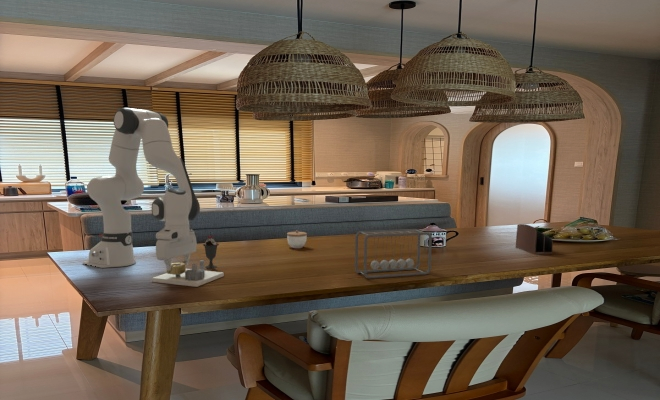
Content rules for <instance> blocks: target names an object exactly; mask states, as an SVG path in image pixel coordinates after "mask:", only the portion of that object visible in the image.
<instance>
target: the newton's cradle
mask: <svg viewBox="0 0 660 400" xmlns="http://www.w3.org/2000/svg"><path fill="white" fill-rule="evenodd" d="M361 234H362V235H366V236H365V237H364V240H363V241H364V242H363V270H359V261H358V260H359V236H360V235H361ZM425 235H426V236H428V262H427V263H428V264H427V265H428V266H427V270H426V271H423V270H420V269H419V268H420V265H421V263H420V262H421V236H425ZM405 236H406V237H409V236H412V238H411V241H413V238H414V236H417V249H416V250H417V252H416V253H417V255H416V266H414V265H415V260H414V259H412V258H411V256H412V253H409V257H408V258H407V259H406V260H405V259H404V258H400V259H399V258H398V260H396V259H395V257H394V253H395V252H396V251H395V250H396V248H394V251H391V254H392V256H391V257H392V259H390V260H389V261H388V260H386V255H387V253H384V258H383V260H381V261H380V262H379V261H378V260H377V259H374V260H373V261H371V263H370V267H371V269H367V267H368V264H367V263H368V239H369V238H373V239H374V241H373V242H374V250H378V248H379V245H376V246H377V247H376V246H375V244H376V242H375V238H377V242H379V241H380V237H381V238H385V237H386V240H388V238H389V237H391V238H390V239H391V243H393V239H392V237H399V238H401V237H404V238H403V239H406V238H405ZM354 238H355V243H354V245H355V246H354V247H355V249H354V270H355V272H356V273H357V274H362V275H363V276H364V277H365V278H366V279H368V280H369V279H383V278H397V277H410V276H411V277H413V276H423V275H425V276H426V275H428V274H429V273H430V272H431V270H432V245H433V244H432V243H433V242H432V241H433V239H432V234H431V233H430V232H428V231H422V230H419V229H417V228H407V229H406V228H405V229H381V230H378V229H377V230H359V231H358V232H356V234H355V237H354ZM394 241H395V242H394V244H397V243H396V241H397V239H395V240H394ZM384 243H385V242H382V247H383V248H382V249H383V250H385V249H387V246H388V244H386V245H385V244H384ZM407 244H408V245H407V246H408V250H410V249H412V248H413V247H412V246H413V244H411V247H409V242H407ZM404 245H405V242H403V245H402V248H404V247H405V246H404ZM384 246H385V247H384ZM399 248H400V249H399V250H400V253H401V256H403V255H404V251H401V246H399ZM377 255H378V252H375V257H378V256H377ZM403 271H417V272H405V273H404V272H403ZM418 271H419V272H418ZM389 272H390V274H377V275H376V274H375V275H374V273H389ZM391 272H403V273H393V274H391ZM372 273H373V275H368V274H372Z"/></svg>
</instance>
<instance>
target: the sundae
mask: <svg viewBox="0 0 660 400" xmlns="http://www.w3.org/2000/svg"><path fill="white" fill-rule="evenodd" d="M209 233H210V235H209V236H208V238H207V239H206V241H205V242H204V243H203V244H202V246H203V247H204V250H205V252H204V253H205V257H206V258H207V259H208V260H209V264H208V265H205V269H216V268H217V266H216V265H214V264H213V259H215V258H216V255H217V248H218V246H220V245H219V242H216V241H215V239H214V238H213V235H212V234H211V233H212V232H209Z"/></svg>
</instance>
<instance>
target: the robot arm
mask: <svg viewBox="0 0 660 400" xmlns="http://www.w3.org/2000/svg"><path fill="white" fill-rule="evenodd" d="M113 126H114V128H115V131H114V133H113V136H112V140H111V145H110V150H109V155H108V161H109V163H110V164H111V166H113V167H114V168H115V174H114V175H101V176H97V177H94V178H92V179H90V181H88V185H87V191H86V192H87V195H88V196H89V198H90V199H91V200H93V201H94V202H95V203H96V204H97V205H98V207H99V208H100V211H101V214H102V221H103V233H99V236H98V237H99V238H100V241H99V242H98V243H97V244H95V246H93V247H91V249H90V250H89V251H88V259H87V260H84V261H83V262H82V265H85V264H87V265H86V266H90V265H92V266H91V267H95V266H96V267H95V268H101V269H105V268H116V267H117V268H119V267H127V266H131V265H136V263H137V262H136V259H135V254H134V248H133V247H134V246H133V238H134V237H133V231H132V215H131V213H130V212H129V211H128V210H126V209H125V208H124V206H123V205H122V201H129V200H130V201H131V200H134V199H137V198H139V197H141V196H142V195H143V193H144V189H145V186H144V182H143V180H142V179H141V178H140V177H139V174H138V172H137V160H138V155H139V151H140V147H141V144H142V149H143V150H142V151H143V156H144V158H145V161H147V162H148V164H150V166H152V167H154V168H156V169H159V170H162V171H164V172H167V173H168V174H171V175H172V176H173V177H174V179H175V181H176V183H177V186H178V188H170V189H167V190H166V191H165V194H163V195H162V196H158V197H156V198H155V199H154V200H153V202H152V203H151V215H152V217H153V218H155V219H156V220H157V221H159V222H164V227H163V228H162V229H160V230H159V231H158V232H156V234H155V239H157V240H156V243H155V256H156V259H157V260H159V261H163V262H164V264H165V265H166V271H167V270H169V271H170V270H173V265H171V263H172V259H175V258H179V257H181V256H184V257H183V260H182V261H181V263H185V264H186V266H188V265H189V260H190V258H191V254H192V253H196V251H197V248H198V246H197V245H198V244H197V236H196V235H195V231H194V229H192V228H190V221H193V220H194V219H195V218H197V217H198V215H199V213H200V210H201V206H200V202H199V199H198V198H197V196H196V194H195V191H194V188H193V185H192V182H191V179H190V176H189V173H188V171H187V167H186V165H185V163H184V161H183V158H181V157H179V156H178V155H177V153H176V152H175V150H174V148H173V142H172V139H171V135H170V133H171V132H170V130H169V119H168V118H167V116H166V115H164V113H163V114H162V113H161V112H157V111H152V110H148V109H143V108H142V109H141V108H140V109H139V108H138V109H137V108H130V107H121V108H119V109H117V110H116V112H115V113H114V117H113ZM141 142H142V143H141Z"/></svg>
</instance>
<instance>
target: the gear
mask: <svg viewBox="0 0 660 400" xmlns="http://www.w3.org/2000/svg"><path fill="white" fill-rule="evenodd" d="M177 263H178V262H174V263H173V262H171V265H173V270H170V271H169V270H167V269H166V273H167V274H173V275H175V274H182V273H185V271H186V269H187V265H186V264H185V263H182V262H179V263H180V265H177V266H175V264H177Z"/></svg>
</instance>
